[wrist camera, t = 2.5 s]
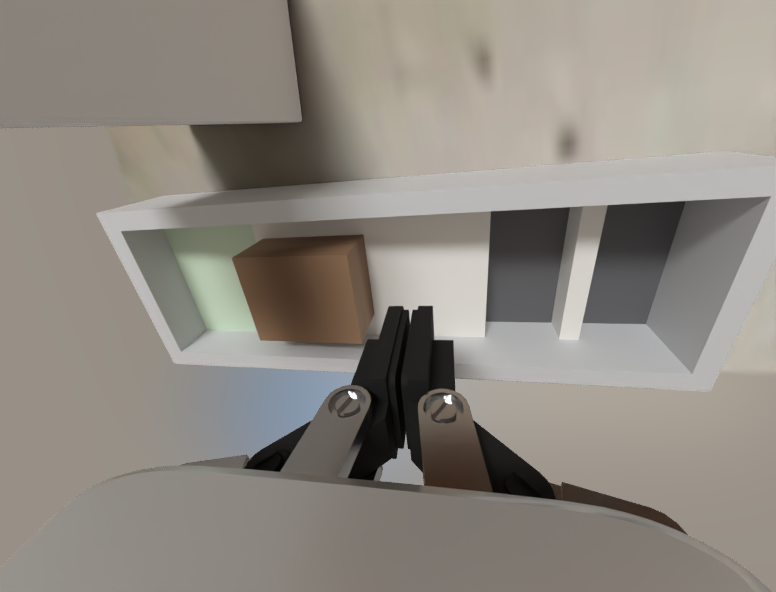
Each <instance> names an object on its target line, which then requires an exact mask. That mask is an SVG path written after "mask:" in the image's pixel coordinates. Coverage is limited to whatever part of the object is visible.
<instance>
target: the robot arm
mask: <svg viewBox="0 0 776 592" xmlns="http://www.w3.org/2000/svg"><path fill="white" fill-rule="evenodd" d="M405 434H406V435H407V444H408V449H410V450H411V460H412V461H413V462H414V464H415V465H416V466H417V467H418V468H419V469H420V470H421V471H422V472H423V479H424V486H422V485H412V484H402V483H392V482H381V481H380V478H381V475H382V470H383V467H382V465H383V464H384V463H386V462H387V461H389V460H390V459H391V458H393V459H396V458H397V451H398V448H404V442H405ZM0 592H772V591H771V590H770V589H769V588H768V587H767V586H766V585H764V584H763V583H762V582H761V581H760V580H759V579H758V578H757V577H755V576H754V575H753V574H752V573H751V572H750V571H748V570H747V569H746V568H744V567H743V566H741V565H740V564H738V563H737V562H736V561H734V560H733V559H731V558H730V557H728V556H726V555H725V554H723V553H721V552H720V551H718V550H716V549H714V548H713V547H711V546H709V545H707V544H705V543H703V542H701V541H699V540H697V539H695V538H693V537H691V536H689V535H688V534H687V533H686V532H685V531H684V530H683V529H682V528H681V527H680V526H679V524H678V523H677V522H675V521H674V520H672V519H671V518H670V517H668V516H667V515H665V514H664V513H662V512H659V511H657V510H655V509H652V508H650V507H647V506H643V505H640V504H636V503H633V502H629V501H626V500H622V499H619V498H616V497H612V496H609V495H605V494H602V493H598V492H595V491H591V490H588V489H585V488H581V487H578V486H574V485H571V484H567V483H564V482H562V484H561V486H559V485H556V484H552V483H549V482H548V481H547V480H546V479H545V478H544V477H543V476H542V475H541V474H540V473H539V472H538V471H537V470H536V469H534V468H533V467H532V466H531V465H529V464H528V463H527V462H525V461H524V460H523V459H522V458H520V457H519V456H518V455H517V454H515V453H514V452H512V450H510V449H509V448H508V447H506V446H505V445H504V444H503V443H501V442H500V441H499V440H498V439H496V438H495V437H494V436H492V435H491V434H490V433H489V432H487V431H486V430H485V429H484V428H482V427H481V426H480V425H479V424H477V423H476V422H475V421H473V418H472V415H471V411H470V407H469V405H468V403H467V400H466V399H465V398H464V397H463V396H462V395H461V394H459V393H457V392H456V391H455V371H454V342H453V340H434V320H433V306H418V310H413V311H412V316H411V322H410V317H409V310H404V307H403V306H389V307H388V310H387V313H386V316H385V319H384V323H383V326H382V329H381V333H380V336H379V339H368V340H367V342H366V344H365V347H364V350H363V352H362V355H361V358H360V361H359V364H358V366H357V369H356V372H355V375H354V378H353V380H352V383H351V385H348V386H343V387H340V388H338V389H336V390H334V391H333V392H331V393H330V394H329V395H328V397H327V398H326V399H325V400H324V402H323V404H322V405H321V407H320V408H319V410H318V412H317V414H316V415H315V417H314V418H313V420H312V421H310V422H308V423H306V424H305V425H303V426H301V427H300V428H298V429H296V430H295V431H293V432H291V433H290V434H288V435H286V436H284V437H282V438H281V439H279V440H277V441H276V442H274V443H272V444H270V445H269V446H267V447H265V448H263V449H262V450H260V451H259V452H258V453H256V454H255V455H254V456H253V457H252V458H248V456H247V455H241V456H235V457H227V458H220V459H213V460H205V461H199V462H191V463H186V464H182V465H179V466H165V467H164V466H163V467H155V468H149V469H143V470H137V471H133V472H130V473H126V474H123V475H119V476H116V477H113V478H111V479H108V480H106V481H103V482H100V483H98V484H96V485H94V486H92V487H91V488H89V489H87V490H85V491H84V492H82V493H81V494H79V495H78V496H77V497H76V498H74V499H73V500H71V501H70V502H69V503H68V504H66V505H65V506H64V507H63V508H62V509H60V510H59V511H58V512H57V513H56V514H55V515H54V516H53V517H52V518H50V519H49V520H48V521H47V522H46V523H45V524H44V525H43V526H42V527H41V528H40V529H38V530H37V531H36V532H35V533H34V534H33V535H32V536H31V537H30V538H29V539H28V540H27V541H26V542H25V543H24V544H23V545H22V546H21V547H20V548H19V549H18V550H17V551H15V552H14V553H13V554H12V555H11V556H10V558H8V559H7V560H6V561H5V562H4V563H3V564H2V565H1V566H0Z"/></svg>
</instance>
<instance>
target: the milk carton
mask: <svg viewBox="0 0 776 592" xmlns="http://www.w3.org/2000/svg"><path fill="white" fill-rule="evenodd" d="M301 121H302V114H301V106H300V99H299V91H298V83H297V75H296V67H295V59H294V51H293V44H292V36H291V28H290V20H289V12H288V4H287V0H0V128H39V127H40V128H41V127H42V128H43V127H93V126H94V127H98V126H152V125H207V124H259V123H297V122H301Z"/></svg>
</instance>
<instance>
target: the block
mask: <svg viewBox="0 0 776 592" xmlns="http://www.w3.org/2000/svg"><path fill="white" fill-rule="evenodd" d="M232 261H233V264H234V267H235V269H236V272H237V275H238V278H239V281H240V284H241V287H242V289H243V292H244V295H245V298H246V301H247V304H248V307H249V310H250V312H251V315H252V318H253V321H254V324H255V327H256V330H257V332H258V335H259V338H260V341H291V342H322V343H353V344H362V342H363V340H364V338H365V335H366V333H367V331H368V328H369V326H370V324H371V321H372V319H373V317H374V307H373V300H372V292H371V285H370V278H369V271H368V264H367V257H366V250H365V242H364V235H363V234H361V235H337V236H314V237H290V238H266V239H262V240H260V241H258V242H257V243H255V244H254V245H252V246H250V247H249V248H247V249H245V250H244V251H242V252H241V253H239V254H237V255H236V256H234V257H232Z"/></svg>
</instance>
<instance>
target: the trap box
mask: <svg viewBox="0 0 776 592" xmlns="http://www.w3.org/2000/svg"><path fill="white" fill-rule="evenodd" d="M96 214H97V216H98V218H99V220H100V222H101V224H102V226H103V228H104V229H105V232H106V234H107V235H108V237H109V239H110V241H111V243H112V245H113V247H114V249H115V251H116V253H117V255H118V257H119V258H120V260H121V262H122V264H123V266H124V268H125V270H126V272H127V274H128V276H129V277H130V280H131V281H132V283H133V285H134V287H135V289H136V291H137V293H138V295H139V297H140V298H141V300H142V302H143V304H144V306H145V308H146V310H147V312H148V314H149V316H150V318H151V320H152V321H153V324H154V325H155V327H156V329H157V331H158V333H159V335H160V337H161V339H162V341H163V343H164V345H165V346H166V348H167V350H168V352H169V354H170V356H171V358H172V360H173V362H174V363H175V364H195V365H214V366H233V367H251V368H270V369H289V370H308V371H327V372H345V373H355V372H356V369H357V366H358V364H359V361H360V358H361V355H362V352H363V350H364V347H365V344H366V342H367V340H368V339H379V336H380V333H381V329H382V326H383V323H384V319H385V316H386V313H387V310H388V307H389V306H403V307H404V310H409V317H410V322H411V316H412V311H413V310H418V306H433V320H434V340H453V342H454V371H455V378H459V379H478V380H497V381H516V382H536V383H554V384H574V385H593V386H611V387H630V388H650V389H668V390H687V391H706V392H710V391H711V389H712V387H713V385H714V383H715V381H716V379H717V377H718V375H719V373H720V371H721V369H722V367H723V365H724V363H725V361H726V359H727V356H728V354H729V352H730V350H731V348H732V346H733V344H734V342H735V340H736V338H737V336H738V334H739V332H740V330H741V328H742V326H743V324H744V322H745V320H746V318H747V316H748V314H749V312H750V310H751V308H752V306H753V304H754V302H755V300H756V298H757V296H758V294H759V292H760V290H761V288H762V286H763V284H764V282H765V279H766V277H767V275H768V273H769V271H770V269H771V267H772V265H773V263H774V261H775V259H776V157H771V156H762V155H753V154H745V153H736V152H728V151H717V152H705V153H692V154H680V155H667V156H655V157H642V158H630V159H617V160H605V161H592V162H580V163H567V164H555V165H542V166H530V167H517V168H505V169H492V170H480V171H467V172H455V173H442V174H430V175H417V176H405V177H392V178H380V179H367V180H354V181H342V182H329V183H317V184H304V185H292V186H279V187H267V188H254V189H242V190H229V191H217V192H204V193H192V194H179V195H167V196H161V197H157V198H153V199H149V200H145V201H142V202H138V203H134V204H130V205H126V206H122V207H118V208H115V209H111V210H107V211H103V212H99V213H96ZM361 234H363V235H364V242H365V250H366V257H367V264H368V271H369V278H370V285H371V292H372V300H373V307H374V317H373V319H372V321H371V324H370V326H369V328H368V331H367V333H366V335H365V338H364V340H363V342H362V344H353V343H322V342H291V341H260V338H259V335H258V332H257V330H256V327H255V324H254V321H253V318H252V315H251V312H250V310H249V307H248V304H247V301H246V298H245V295H244V292H243V289H242V287H241V284H240V281H239V278H238V275H237V272H236V269H235V267H234V264H233V261H232V257H234V256H236V255H237V254H239V253H241V252H242V251H244V250H245V249H247V248H249V247H250V246H252V245H254V244H255V243H257V242H258V241H260V240H262V239H266V238H290V237H314V236H337V235H361Z"/></svg>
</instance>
